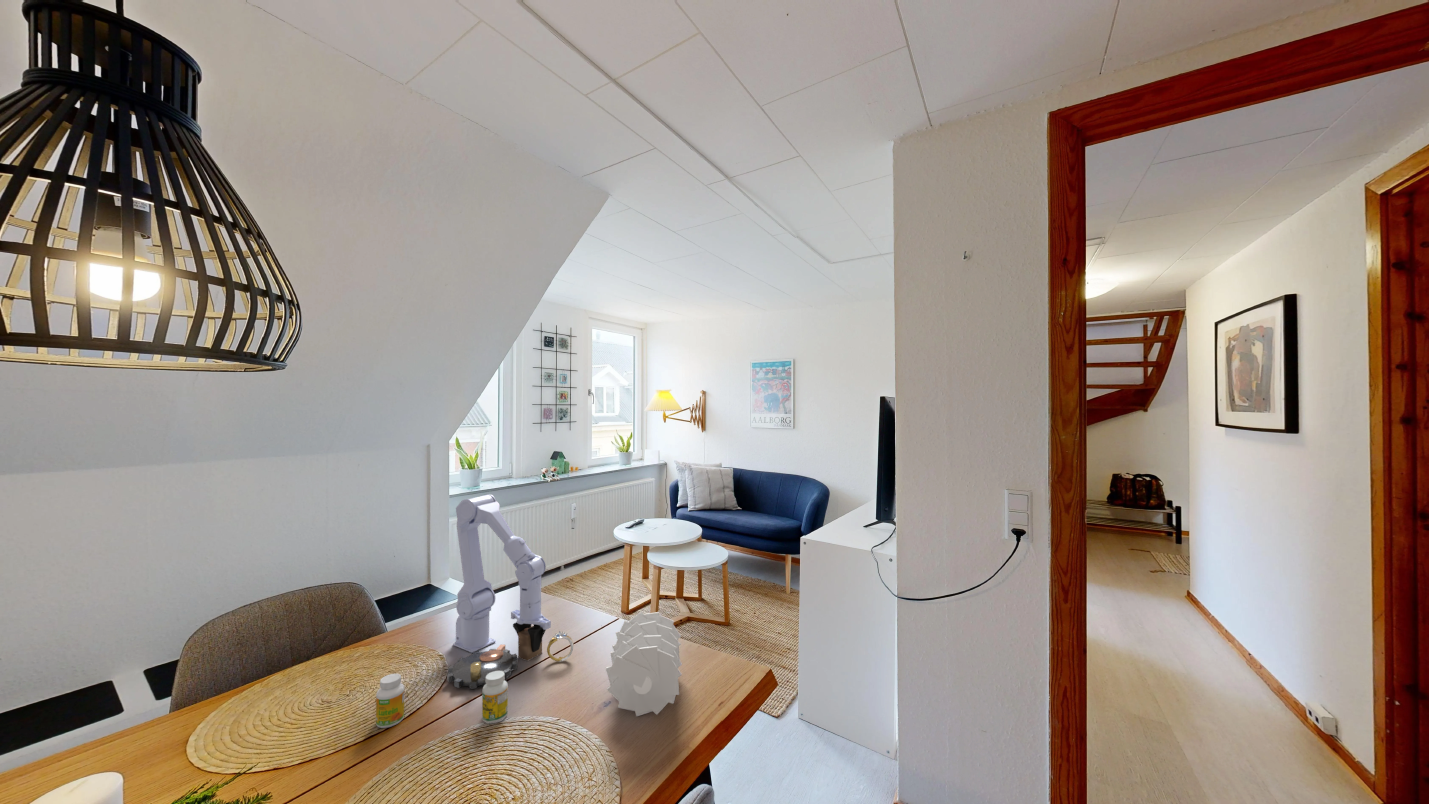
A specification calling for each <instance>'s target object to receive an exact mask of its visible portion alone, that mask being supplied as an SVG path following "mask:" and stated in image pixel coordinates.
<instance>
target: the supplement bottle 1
mask: <svg viewBox="0 0 1429 804" xmlns="http://www.w3.org/2000/svg"><path fill="white" fill-rule="evenodd" d="M375 701H376V702H375V724H376V727H377V728H380V729H385V728H387V729H388V728H391V727H394V726H395V725H398V724H399V723H401V722H402V721H403V719H404V718H405V684H403V683H402V675H401V674H400V673H390V674H387V675H384V676H383V677H382V678H380V681H379V689H378V690H377V691H376V695H375Z"/></svg>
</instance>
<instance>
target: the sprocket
mask: <svg viewBox="0 0 1429 804" xmlns="http://www.w3.org/2000/svg"><path fill="white" fill-rule="evenodd" d="M496 649H497V648H490V649H489V650H485V651H481V652H480V651H479V650H477V651H475V652H472V654H471V655H467V656H466V657H464V656H462V657H460V658H458V659H457V660H456V663H455V664H454V665H453V664H450V666H449V667H448V671H447V672H448V673H447V675H446V676H447V677H446V679H447V682H448V683H452V682H453V687H455V688H457V689H458V688H461V687H469V690H470V689H471V690H472V689H477V688H478V686H484V685H485V684H486V682H485V679H486V675H487V674H489V673H491V672H494V671H503V672H504V674H505V679H508V678H509V677H510V676H512V671H513V670H514V671H515V670H517V669H518V667H519V661H518V654H517V653H513V654H512V653H511V650H509V649H506V648H505V650H503V651H501V650H496Z"/></svg>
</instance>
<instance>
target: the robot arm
mask: <svg viewBox="0 0 1429 804" xmlns="http://www.w3.org/2000/svg"><path fill="white" fill-rule="evenodd" d="M500 505H501V504H500V503H499V502H498V501H497V499H496V497H495V496H494V495H493V494H491V493H486V494H483V495H481V496H476V497H471V498H465V499H462V500H461V501H460V502H459V503H458V505H457V506H456V507H455V513H456V519H457V520H456V530H457V540H458V546H459V554H460V555H459V556H460V562H461V568H462V569H461V570H462V577H463V578H462V579H463V585H462V587H461V588H460V589H459V591H458V592H457V594H456V595H457V602H456V613H457V614H458V617H457V618H456V621H455V641H454V642H453V643H452V646H455V647H457V648H459V649H462V650H464V651H466V652H469V653H471V654H473V653H474V652H477V651H479V650H481V649H483V648H486V647H487V646H490V645H491V644H494V643H496V639H494V638H491V637H490V612H492V607H493V606H494V605H495V603H496V594H495V592H494V590H493V587H492V583H491V582H490V581H489V580H486V579H485V575H484V567H483V559H482V558H483V557H482V552H481V551H482V550H481V546H480V545H481V544H480V538H479V530H478V529H479V527H480V525H481V524H484V525H486V524H487V526H489V528H490V529H491V530H492V532H494V534H496V536H497V537H498V539H500V540H501V541H502V543H503V552H504V553H505V554H506V556H507V557H508V559H509V560H510V561H511V563H512V564H513V565H514V567H515V568H516V570H515V577H516V578H517V581H518V586H519V610H518V609H514V610H513V611H510V619H511V620H515V619H516V622H514V623H513V624H512V627H513V629H514V630H515V633H516V635H517V636H518V632H521V631H523V630H524V629H525V628H529V627H531V626H534V627H531V628H529V629H527V631H528V633H529V635H530V639H531V649H532V652H535V651H537V650H539V648H540V644H541V641H542V642H543V637H544V635H545V633H546V630H548V629H550V628H551V627H552V620H550V619H548V617H545V616H544V615H543V613H542V575H544V573H545V572H546V566H547V565H546V561H545V560H544V558H543V557H542V556H540V555H537V554H536V553H534V552H533V551H532V550H531V548H530V547H529V546H528V545H527V543H526V541H525V539H524V538H522V537H521V536H516V535H515V533H514V532H513V531H512V529H511V527H510V526H509V524H508V522H507V521H506V520H505V517H504V516H503V514H502V513H501V511H500V507H501V506H500Z"/></svg>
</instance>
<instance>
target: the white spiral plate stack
mask: <svg viewBox="0 0 1429 804" xmlns="http://www.w3.org/2000/svg"><path fill="white" fill-rule="evenodd" d="M674 623H675V620H673V619H671V618H668V617H666V616H664V615H662V614H660V611H657V612H656V611H655V612H648V613H644V612H643V611H639V612H638V613H637V614H636V615H634V616H633V617H632V618H631V619H629V620H624V621H623V624H622V625H621V627H620V630H618V631H616V632H615V636H616V639H617V640H616V642H615V644H613V645H612V650H613V651H610V657H611V664H612V665H609V666H607V667H605V670H606V674H607V677H608V682H609V686H608V687H607V689H606V691H608V692H609V694H611V695H612V696H613V698H615V699H616V700H617V701H618V705H617V708H619V709H623V710H628V711H632V712H634V713H635V717H639V716H642V715H645V714H648V713H651V712H653V713H654V714H655V715H658V714H659V713H660V712H661V711H662V710H663V709H664V708H665V707H666V705H668V704H669V703H670V704H674V703H675V700H676V696H679V695H680V688H679V687H680V686H679V678H680V677H681V676H682V675H683V673H682V672H681V671H680V669H679V667H681V666H682V665H683V663H682V661H681V658H680V646H681V642H680V641H679V639H680V638H681V637H682V635H681V634H680V632H679V631H678V629H677V628H676V626H675V625H674Z"/></svg>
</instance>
